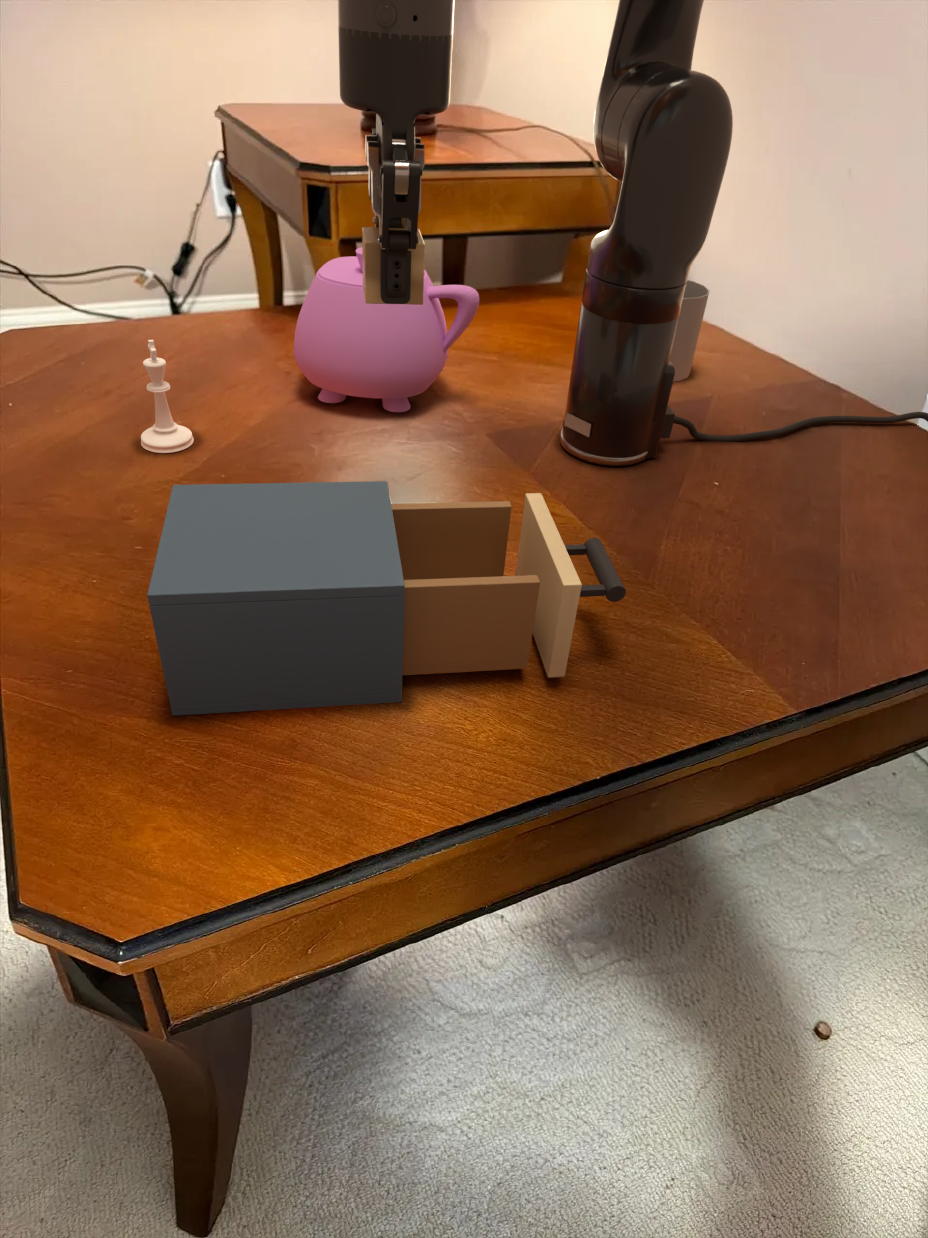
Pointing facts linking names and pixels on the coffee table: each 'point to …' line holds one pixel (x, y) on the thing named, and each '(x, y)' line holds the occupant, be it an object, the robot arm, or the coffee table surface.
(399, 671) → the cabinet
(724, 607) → the coffee table surface
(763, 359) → the coffee table surface
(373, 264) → the block
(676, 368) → the cup
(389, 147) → the robot arm
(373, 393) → the teapot
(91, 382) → the coffee table surface
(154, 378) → the chess piece
